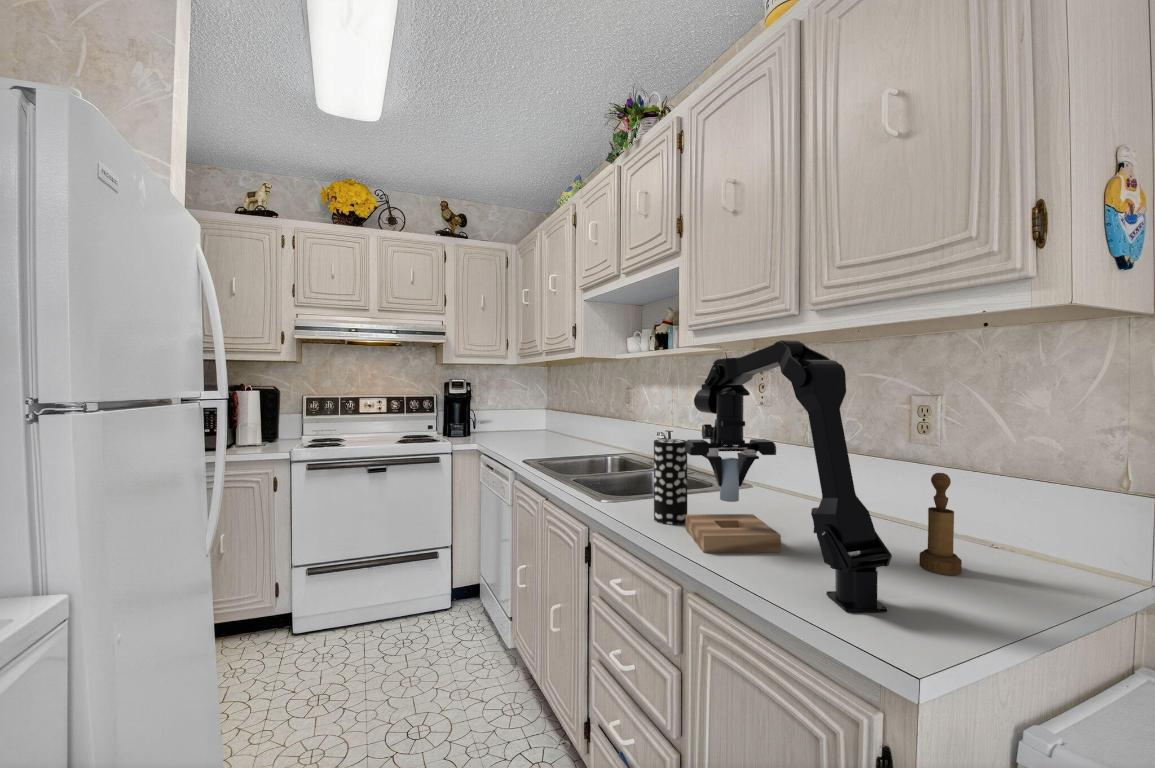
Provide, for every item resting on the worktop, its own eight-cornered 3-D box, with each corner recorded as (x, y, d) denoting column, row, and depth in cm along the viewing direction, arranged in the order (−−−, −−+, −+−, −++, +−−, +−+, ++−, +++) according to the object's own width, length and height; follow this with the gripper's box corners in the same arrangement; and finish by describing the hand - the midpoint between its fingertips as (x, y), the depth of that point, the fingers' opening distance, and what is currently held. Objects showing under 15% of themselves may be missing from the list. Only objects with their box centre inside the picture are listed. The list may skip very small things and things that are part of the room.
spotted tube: (652, 523, 126) (652, 442, 126) (655, 514, 134) (655, 438, 134) (686, 525, 124) (686, 443, 124) (687, 516, 132) (687, 439, 132)
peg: (741, 501, 111) (741, 460, 111) (723, 501, 111) (723, 460, 111) (735, 497, 115) (735, 457, 115) (717, 497, 115) (717, 457, 115)
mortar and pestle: (969, 576, 92) (970, 477, 92) (929, 574, 93) (929, 476, 93) (950, 563, 98) (951, 470, 98) (913, 561, 100) (913, 469, 99)
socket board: (780, 551, 105) (780, 534, 105) (703, 552, 105) (703, 535, 105) (752, 528, 121) (752, 514, 121) (685, 529, 121) (685, 514, 121)
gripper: (758, 412, 121) (757, 478, 121) (679, 413, 120) (679, 478, 121) (777, 416, 110) (777, 489, 110) (691, 417, 109) (690, 489, 110)
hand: (729, 486), depth 113 cm, fingers closed on peg, 4 cm apart
